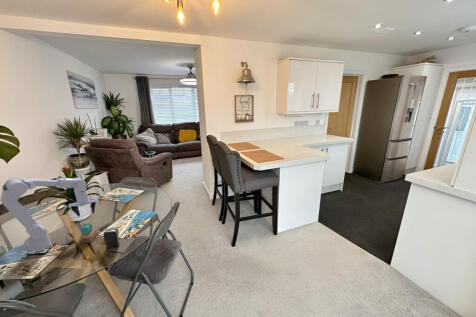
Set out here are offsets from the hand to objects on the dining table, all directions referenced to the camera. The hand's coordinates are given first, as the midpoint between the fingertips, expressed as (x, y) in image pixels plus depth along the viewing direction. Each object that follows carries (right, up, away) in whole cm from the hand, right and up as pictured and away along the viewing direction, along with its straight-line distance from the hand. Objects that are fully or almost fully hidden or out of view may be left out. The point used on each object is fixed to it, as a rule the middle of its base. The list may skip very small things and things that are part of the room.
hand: (86, 214), depth 121 cm
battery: (+25, -16, -11) cm, 32 cm away
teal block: (+7, -9, -8) cm, 14 cm away
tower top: (+7, -11, -7) cm, 15 cm away
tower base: (+7, -14, -6) cm, 16 cm away
